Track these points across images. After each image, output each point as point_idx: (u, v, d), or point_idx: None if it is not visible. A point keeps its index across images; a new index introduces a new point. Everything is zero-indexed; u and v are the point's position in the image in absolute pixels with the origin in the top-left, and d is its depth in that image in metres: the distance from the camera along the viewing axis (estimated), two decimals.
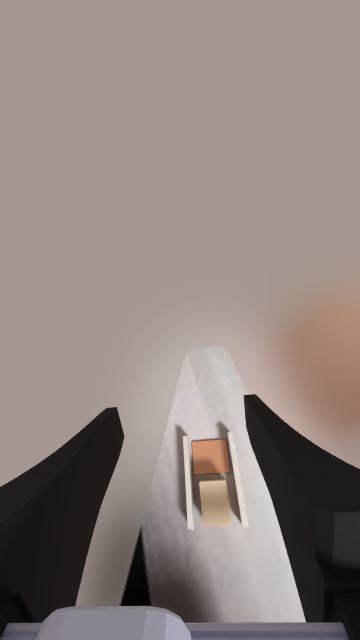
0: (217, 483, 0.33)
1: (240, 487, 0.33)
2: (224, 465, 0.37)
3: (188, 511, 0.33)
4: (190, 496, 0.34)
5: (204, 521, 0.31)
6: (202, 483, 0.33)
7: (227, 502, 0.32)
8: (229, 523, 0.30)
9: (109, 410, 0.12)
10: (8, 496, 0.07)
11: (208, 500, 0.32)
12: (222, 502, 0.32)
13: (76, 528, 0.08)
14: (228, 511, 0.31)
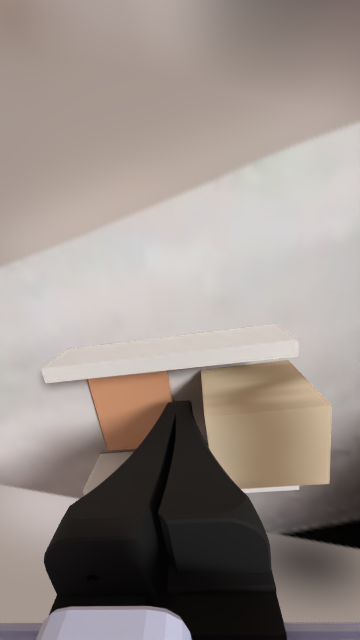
0: (216, 441, 0.09)
1: (196, 355, 0.10)
2: (149, 374, 0.13)
3: (261, 488, 0.12)
4: None
5: (317, 479, 0.10)
6: None
7: (268, 414, 0.09)
8: (326, 412, 0.09)
9: (172, 404, 0.12)
10: (123, 490, 0.06)
11: (263, 468, 0.10)
12: (267, 428, 0.09)
13: None
14: (293, 413, 0.09)
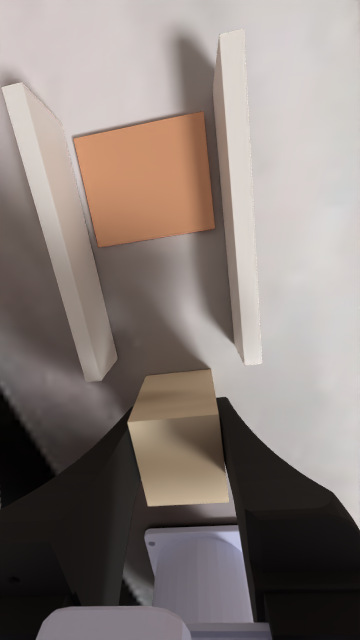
0: (189, 423, 0.09)
1: (251, 266, 0.09)
2: (195, 208, 0.11)
3: (79, 344, 0.10)
4: (79, 308, 0.10)
5: (151, 498, 0.11)
6: (138, 425, 0.10)
7: (220, 462, 0.10)
8: (222, 499, 0.11)
9: None
10: (56, 493, 0.06)
11: (159, 460, 0.10)
12: (205, 462, 0.10)
13: (116, 526, 0.08)
14: (221, 479, 0.10)
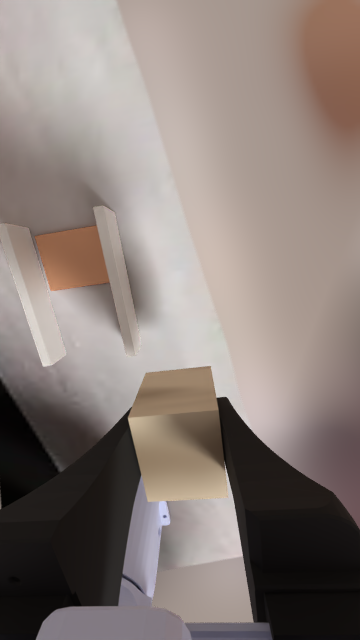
0: (190, 419, 0.10)
1: (122, 306, 0.18)
2: (102, 271, 0.19)
3: (38, 345, 0.19)
4: (37, 326, 0.19)
5: (151, 494, 0.11)
6: (139, 421, 0.10)
7: (220, 458, 0.10)
8: (221, 495, 0.11)
9: None
10: (56, 493, 0.06)
11: (159, 455, 0.10)
12: (205, 457, 0.10)
13: (116, 526, 0.08)
14: (221, 474, 0.10)
